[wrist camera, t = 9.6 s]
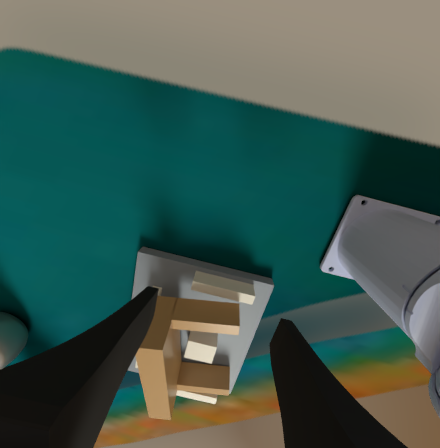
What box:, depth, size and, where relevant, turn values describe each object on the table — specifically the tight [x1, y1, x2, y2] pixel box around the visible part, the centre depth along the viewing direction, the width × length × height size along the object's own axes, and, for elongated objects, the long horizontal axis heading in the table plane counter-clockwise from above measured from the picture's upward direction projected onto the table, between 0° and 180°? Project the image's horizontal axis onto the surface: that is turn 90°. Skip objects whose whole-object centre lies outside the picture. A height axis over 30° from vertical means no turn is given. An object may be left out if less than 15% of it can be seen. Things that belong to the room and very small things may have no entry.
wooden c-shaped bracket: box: [135, 296, 240, 420], centre depth 21 cm, size 8×12×5 cm, turn 176°
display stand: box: [128, 247, 274, 404], centre depth 23 cm, size 14×17×3 cm
